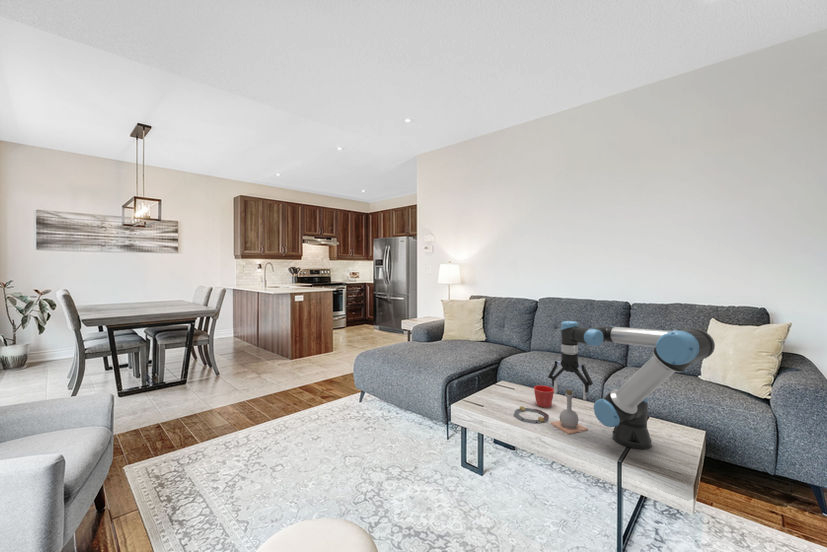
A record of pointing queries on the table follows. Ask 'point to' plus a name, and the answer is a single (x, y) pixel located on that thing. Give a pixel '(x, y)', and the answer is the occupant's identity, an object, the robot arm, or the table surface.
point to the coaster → (567, 430)
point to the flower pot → (543, 395)
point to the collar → (540, 419)
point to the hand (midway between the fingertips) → (569, 395)
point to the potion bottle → (569, 413)
